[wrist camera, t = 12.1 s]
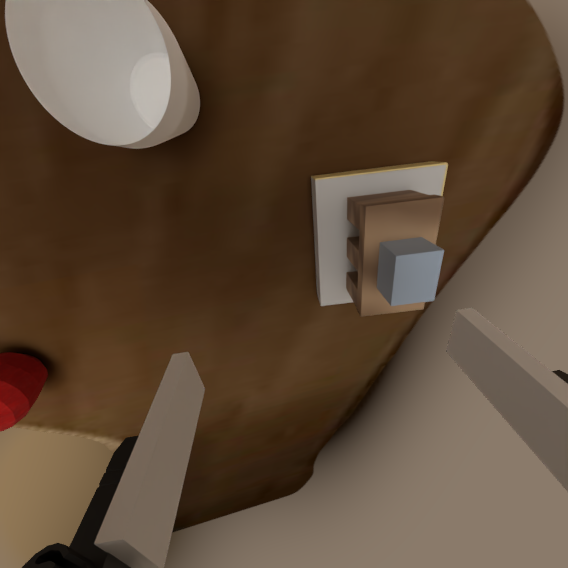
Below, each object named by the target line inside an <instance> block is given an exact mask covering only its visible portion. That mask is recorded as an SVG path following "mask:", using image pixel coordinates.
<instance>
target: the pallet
mask: <svg viewBox="0 0 568 568" xmlns="http://www.w3.org/2000/svg"><path fill="white" fill-rule="evenodd" d="M443 202H444V197H442V196H439V195H435V194H434V195H427V194H424V193H420V192H417V191H413V190H404V191H396V192H388V193H379V194H371V195H363V196H355V197H347V220H349V221H350V222H351V223H352V224H353V225H354V226H355V227H356V228H357V229H359V230H360V231H359V236H356V237H348V238H347V258H348V259H349V260H350V262H351V263H352V265H353V266H354V267H355V269H356V270H357V271H353V272H346V289H347V291H348V293H349V295H350V296H351V298H352V300H353V302H354V304H355V305H356V307H357V311H358V312H359V314H360V316H361V317H362V316H370V315H378V314H386V313H395V312H403V311H411V310H420V309H423V308H424V303H425V302H420V303H412V304H404V305H396V306H390V304H389V303H388V302H387V300H386V299H385V298H384V297H383V295H382V294H381V293H380V291H379V290H378V289H377V276H378V262H379V247H380V242H386V241H394V240H402V239H410V238H418V237H423V238H424V239H426V240H428V241H429V242H431V243H433V244H435V245H436V239H437V234H438V229H439V223H440V218H441V213H442V208H443Z"/></svg>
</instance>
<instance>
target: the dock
mask: <svg viewBox="0 0 568 568" xmlns="http://www.w3.org/2000/svg"><path fill="white" fill-rule="evenodd" d="M447 168H448V164H447V163H445V162H432V161H430V162H422V163H413V164H405V165H397V166H389V167H380V168H372V169H364V170H356V171H348V172H339V173H331V174H323V175H315V176H311V186H312V205H313V225H314V244H315V264H316V283H317V296H318V299H319V302H320V305H321V306H325V305H333V304H342V303H350V302H353V300H352V298H351V296H350V295H349V293H348V291H347V289H346V272H353V271H357V270H356V269H355V267H354V266H353V265H352V263H351V262H350V260H349V259H348V258H347V238H348V237H356V236H359V231H360V230H359V229H357V228H356V227H355V226H354V225H353V224H352V223H351V222H350V221H349V220H347V197H355V196H363V195H371V194H379V193H388V192H396V191H404V190H413V191H417V192H420V193H424V194H427V195H434V194H435V195H439V196H442V195H443V189H444V184H445V179H446V173H447Z"/></svg>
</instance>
